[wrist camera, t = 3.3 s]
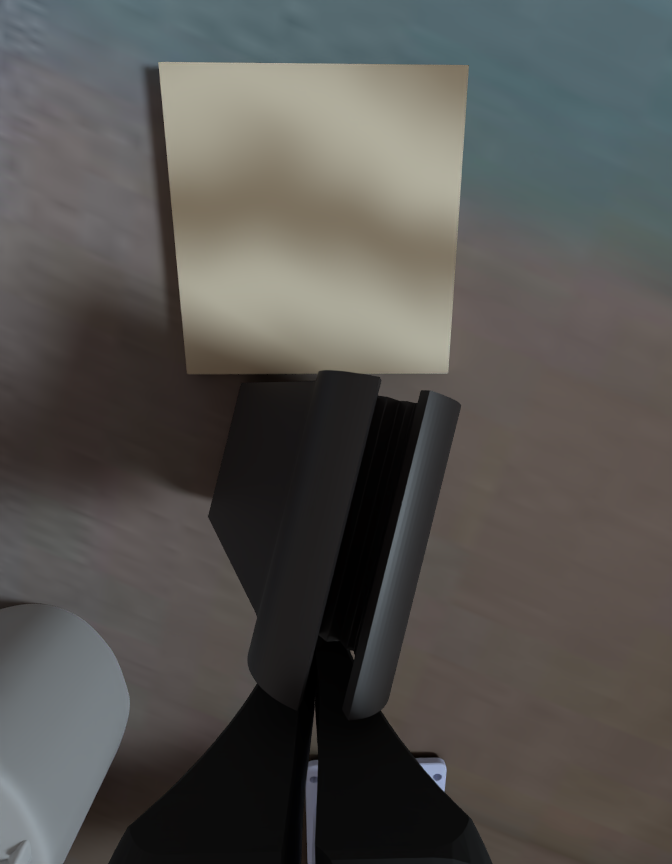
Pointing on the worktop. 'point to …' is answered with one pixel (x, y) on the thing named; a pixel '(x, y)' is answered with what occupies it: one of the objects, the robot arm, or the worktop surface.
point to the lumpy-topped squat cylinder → (53, 728)
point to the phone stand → (330, 523)
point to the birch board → (315, 214)
